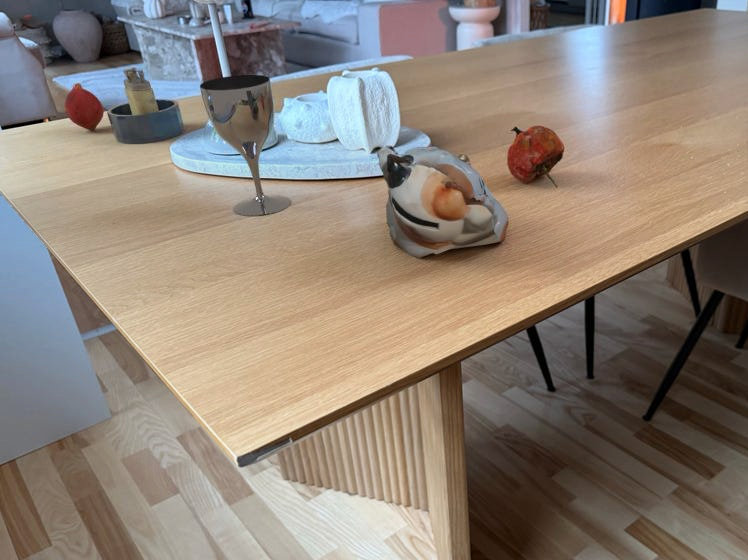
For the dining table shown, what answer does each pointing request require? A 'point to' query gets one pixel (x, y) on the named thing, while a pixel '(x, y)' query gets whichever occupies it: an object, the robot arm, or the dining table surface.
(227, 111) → the wine glass
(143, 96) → the lighter
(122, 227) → the dining table surface
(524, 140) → the pomegranate
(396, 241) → the lucky cat figurine
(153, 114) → the bowl
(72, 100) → the onion
